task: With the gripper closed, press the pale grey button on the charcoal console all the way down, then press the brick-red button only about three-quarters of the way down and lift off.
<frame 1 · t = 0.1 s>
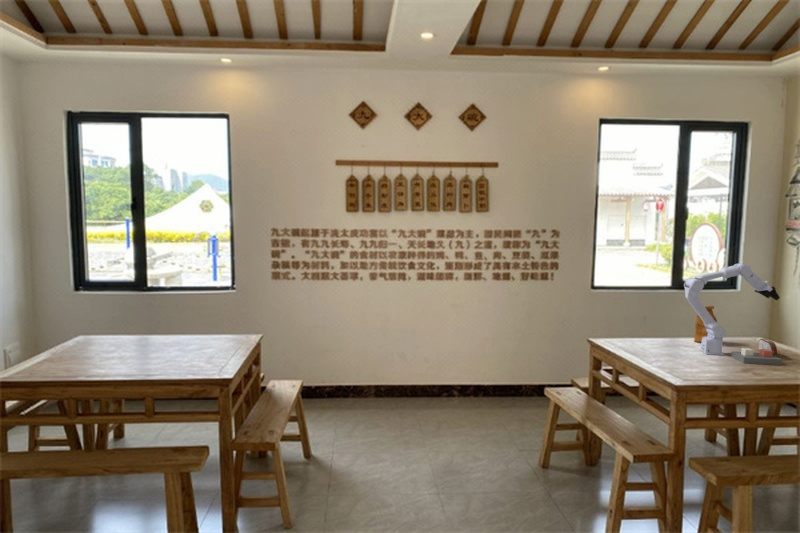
hand: (773, 297, 273), 32 cm above the table, tool tilted 50°, fingers open, 7 cm apart
console: (755, 360, 266), on the table
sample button: (747, 352, 266), point 4 cm above the table, slide at 0.0 cm
red button: (765, 353, 265), point 4 cm above the table, slide at 0.0 cm
coffee package: (705, 342, 305), on the table
tin: (766, 355, 279), on the table
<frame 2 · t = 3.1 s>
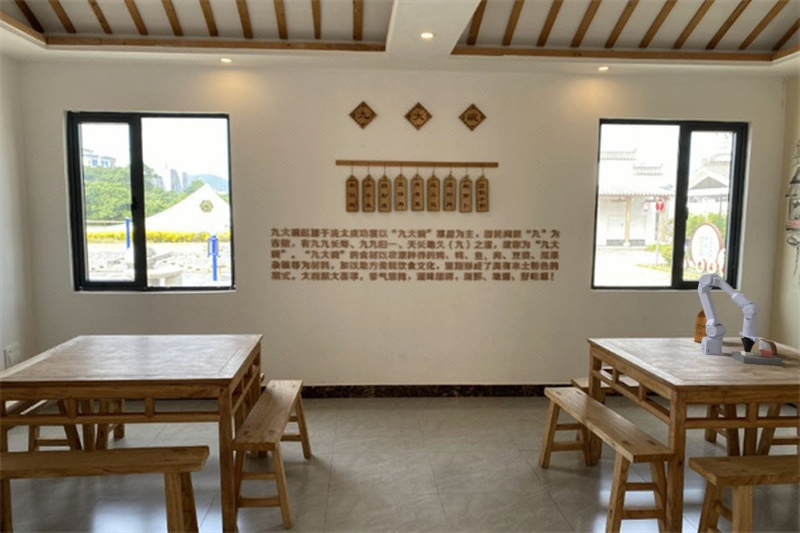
hand: (747, 352, 266), 5 cm above the table, tool pointing down, fingers closed, pressing on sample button
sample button: (747, 355, 266), point 3 cm above the table, slide at 1.6 cm, touching gripper
everything else where it was.
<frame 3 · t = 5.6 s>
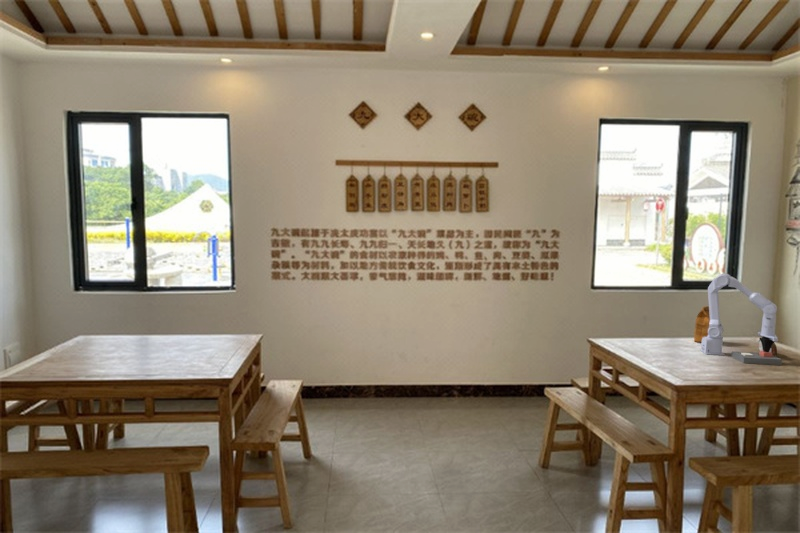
hand: (766, 351, 265), 5 cm above the table, tool pointing down, fingers closed, pressing on red button
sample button: (746, 357, 266), point 2 cm above the table, slide at 2.5 cm
red button: (765, 355, 265), point 3 cm above the table, slide at 0.9 cm, touching gripper
everything else where it was.
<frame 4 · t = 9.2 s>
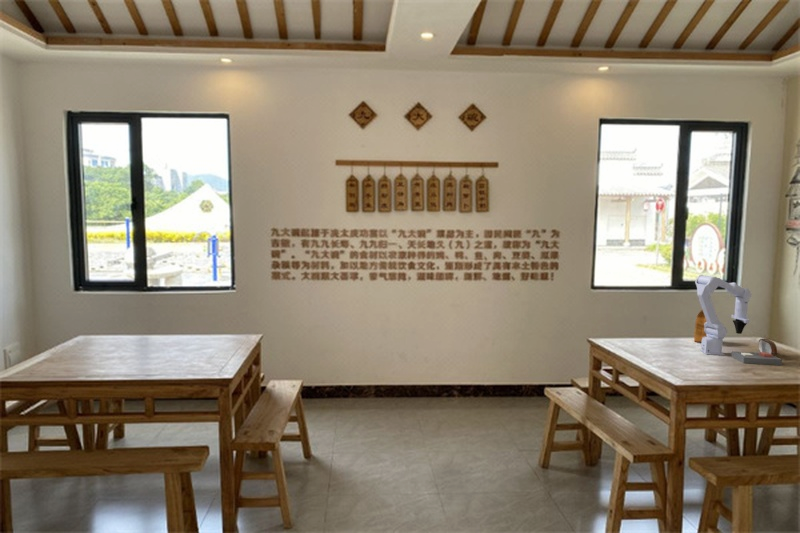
hand: (738, 333, 283), 10 cm above the table, tool pointing down, fingers closed
red button: (765, 356, 265), point 3 cm above the table, slide at 1.8 cm
everything else where it was.
at the end: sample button slide at 2.5 cm; red button slide at 1.8 cm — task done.
